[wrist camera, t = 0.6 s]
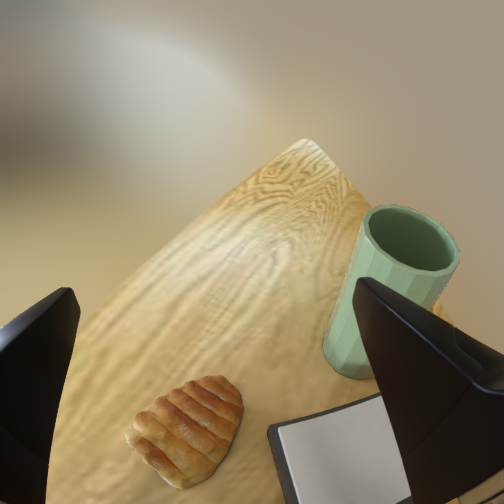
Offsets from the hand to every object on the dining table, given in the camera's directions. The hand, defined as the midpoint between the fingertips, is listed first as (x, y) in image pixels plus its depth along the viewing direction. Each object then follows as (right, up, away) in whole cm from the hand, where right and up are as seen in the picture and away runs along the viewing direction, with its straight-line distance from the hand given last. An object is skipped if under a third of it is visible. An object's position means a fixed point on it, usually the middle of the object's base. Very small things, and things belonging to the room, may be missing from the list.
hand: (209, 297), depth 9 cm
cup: (+11, -7, +16) cm, 21 cm away
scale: (+8, -15, +8) cm, 19 cm away
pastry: (-4, -13, +10) cm, 17 cm away
